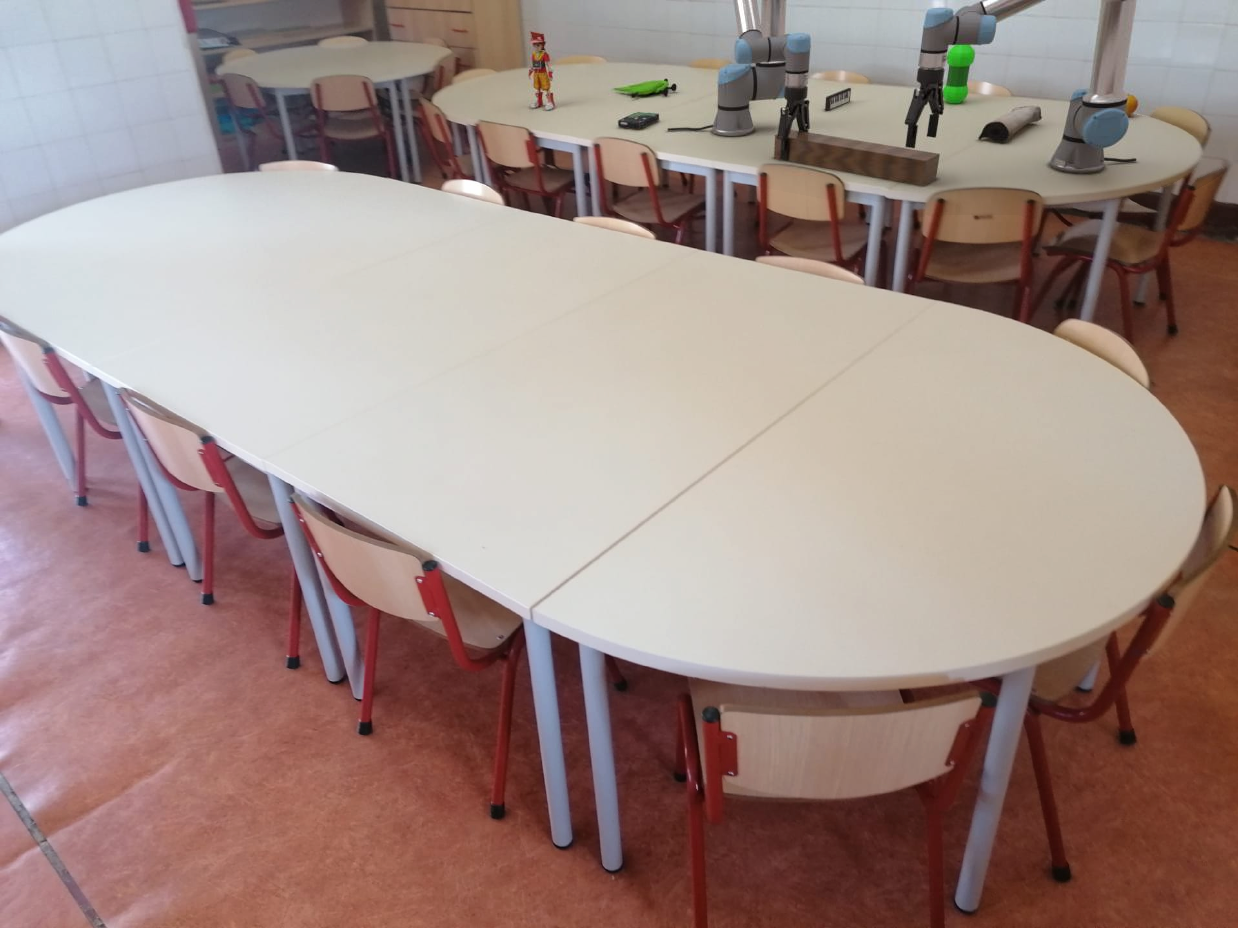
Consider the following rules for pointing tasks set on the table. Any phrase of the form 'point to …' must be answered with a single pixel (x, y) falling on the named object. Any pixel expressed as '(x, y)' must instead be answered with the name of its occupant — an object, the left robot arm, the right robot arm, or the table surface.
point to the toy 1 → (541, 71)
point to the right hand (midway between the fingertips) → (920, 142)
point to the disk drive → (638, 120)
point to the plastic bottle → (958, 73)
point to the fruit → (1131, 104)
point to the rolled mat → (1010, 123)
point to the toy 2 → (648, 88)
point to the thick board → (861, 157)
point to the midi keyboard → (837, 99)
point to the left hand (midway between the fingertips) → (792, 156)
